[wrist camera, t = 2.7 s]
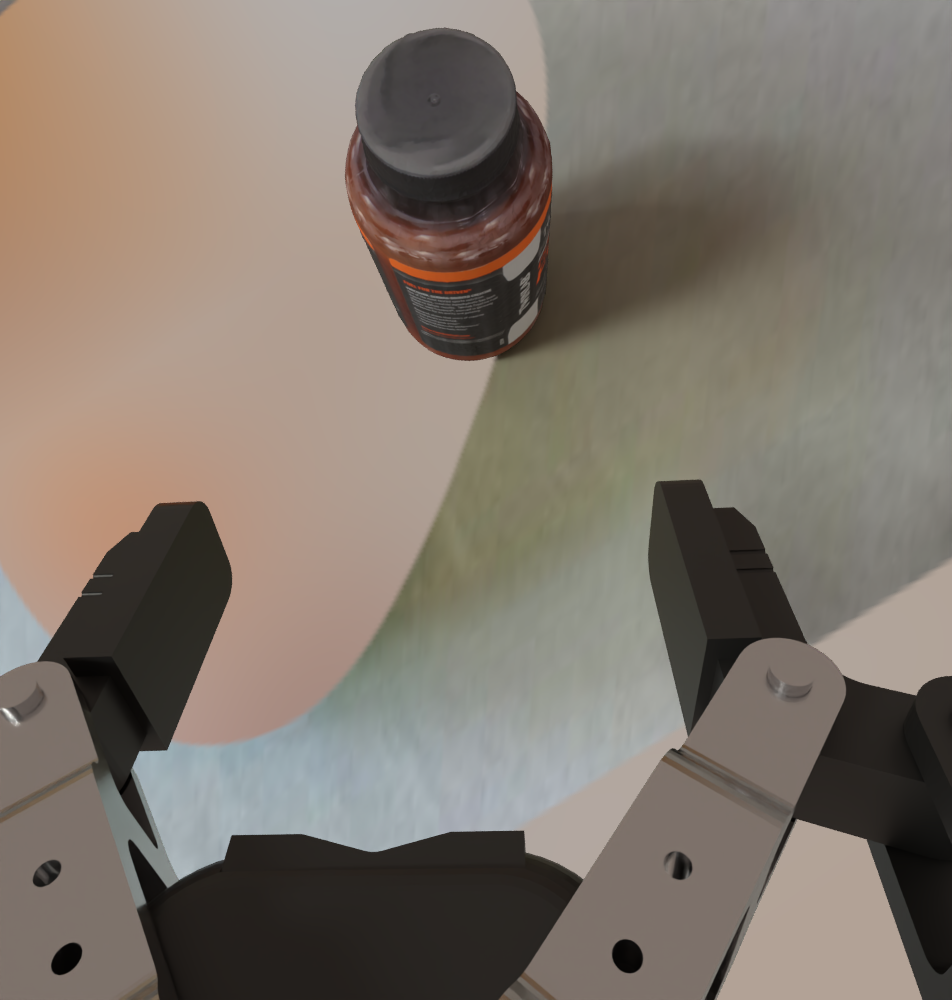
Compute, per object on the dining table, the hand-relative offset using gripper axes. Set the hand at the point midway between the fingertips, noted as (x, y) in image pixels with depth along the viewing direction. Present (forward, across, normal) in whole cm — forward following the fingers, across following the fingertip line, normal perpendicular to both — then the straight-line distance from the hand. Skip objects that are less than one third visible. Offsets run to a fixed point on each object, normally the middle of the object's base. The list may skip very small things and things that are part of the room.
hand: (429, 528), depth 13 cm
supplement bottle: (+18, 0, +3) cm, 18 cm away
